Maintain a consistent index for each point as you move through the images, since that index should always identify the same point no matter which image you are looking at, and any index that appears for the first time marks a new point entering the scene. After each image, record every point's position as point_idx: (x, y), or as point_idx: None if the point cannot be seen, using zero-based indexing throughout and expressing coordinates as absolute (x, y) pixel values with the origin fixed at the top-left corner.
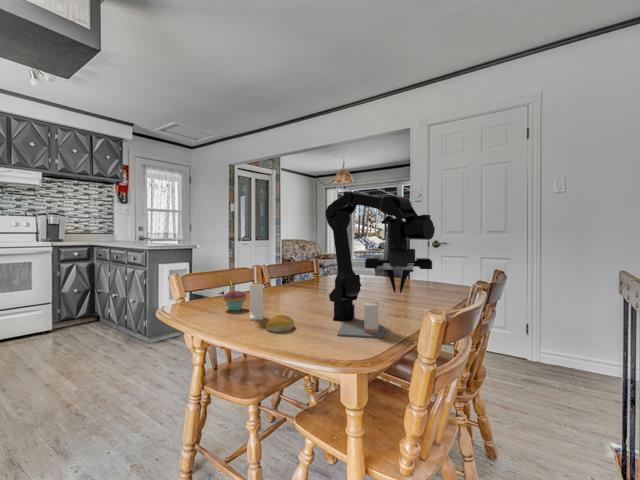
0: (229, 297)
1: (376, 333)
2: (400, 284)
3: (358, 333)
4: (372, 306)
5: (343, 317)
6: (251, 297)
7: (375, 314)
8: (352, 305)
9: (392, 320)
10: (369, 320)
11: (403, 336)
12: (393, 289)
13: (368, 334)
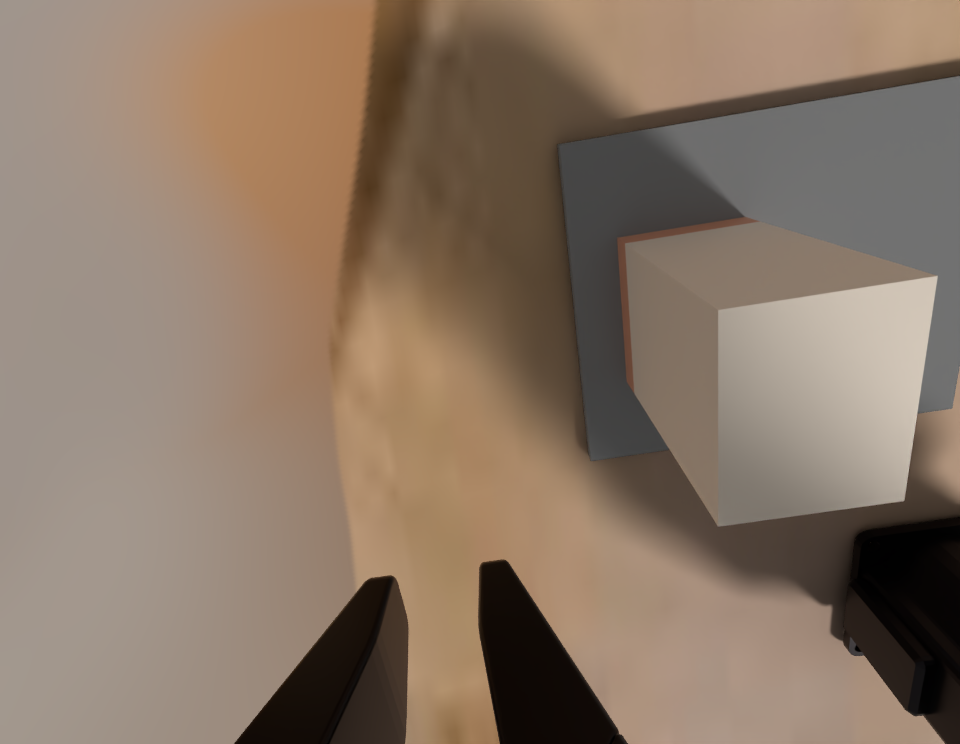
0: None
1: (631, 219)
2: (343, 708)
3: (799, 159)
4: (799, 291)
5: (945, 543)
6: None
7: (707, 271)
8: (934, 674)
9: None
10: (748, 246)
11: (396, 265)
12: (521, 594)
13: (703, 162)
